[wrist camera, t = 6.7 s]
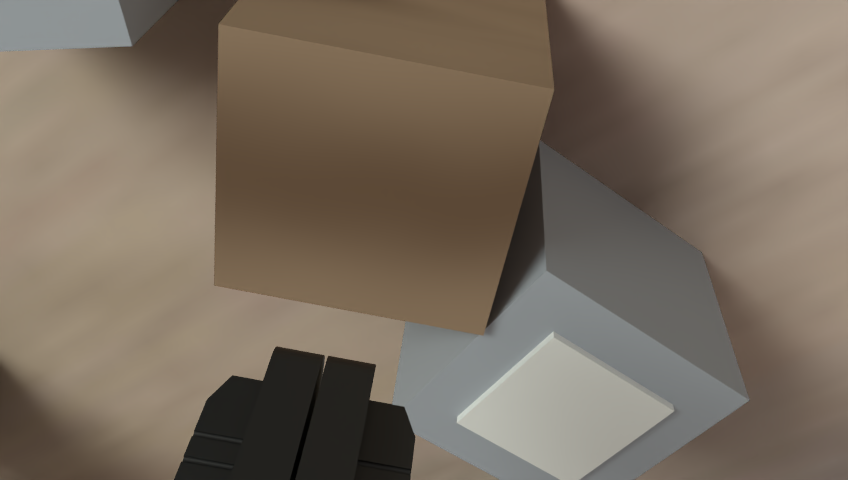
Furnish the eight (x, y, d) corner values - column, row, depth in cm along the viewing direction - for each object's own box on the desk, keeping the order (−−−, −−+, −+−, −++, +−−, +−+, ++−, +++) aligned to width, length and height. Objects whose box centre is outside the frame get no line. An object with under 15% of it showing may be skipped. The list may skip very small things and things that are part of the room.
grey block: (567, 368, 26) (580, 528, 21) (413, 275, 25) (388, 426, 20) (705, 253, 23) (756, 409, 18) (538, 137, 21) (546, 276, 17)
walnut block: (489, 191, 23) (483, 335, 18) (278, 151, 22) (213, 285, 18) (543, -19, 19) (554, 89, 14) (293, -68, 19) (218, 24, 14)
